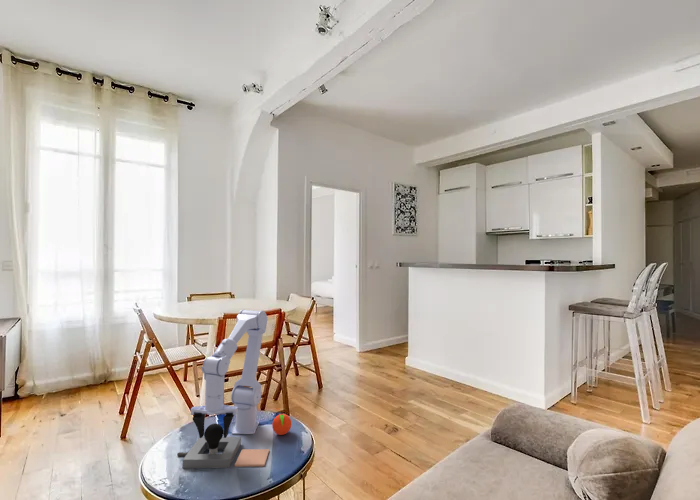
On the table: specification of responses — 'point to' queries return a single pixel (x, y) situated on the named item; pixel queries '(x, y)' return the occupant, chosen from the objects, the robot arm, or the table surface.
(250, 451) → the terracotta tile
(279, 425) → the clementine
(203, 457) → the socket block
